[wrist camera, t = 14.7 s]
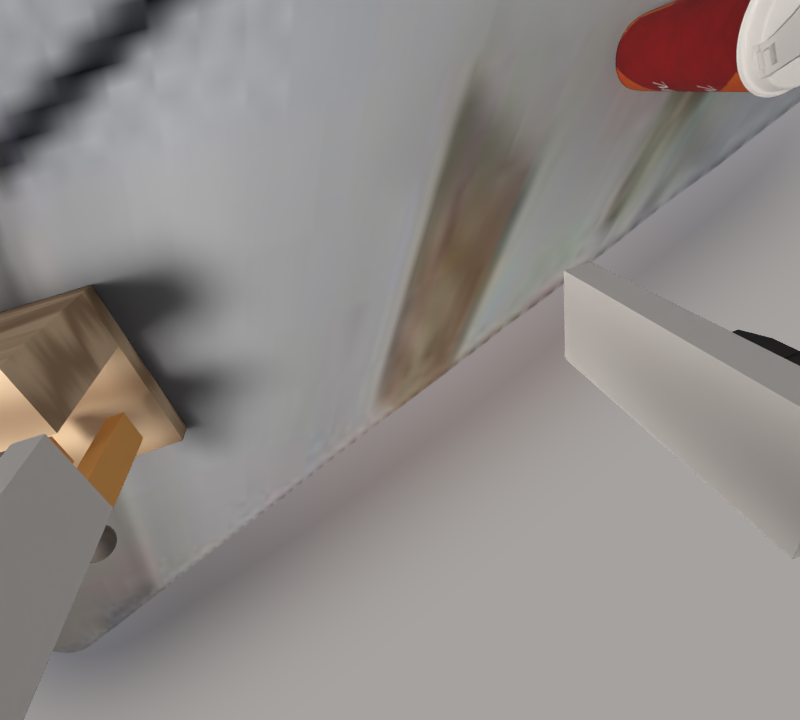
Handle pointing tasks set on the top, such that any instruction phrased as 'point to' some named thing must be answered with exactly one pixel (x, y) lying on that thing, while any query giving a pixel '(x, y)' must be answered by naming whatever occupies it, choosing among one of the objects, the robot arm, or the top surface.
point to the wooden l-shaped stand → (76, 381)
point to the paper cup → (713, 47)
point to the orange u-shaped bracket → (109, 456)
